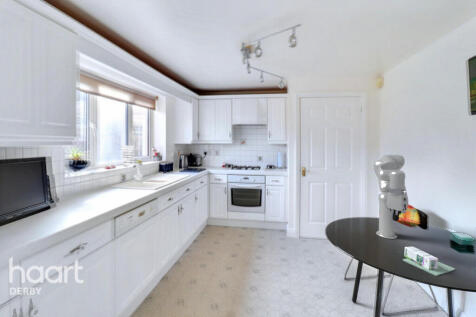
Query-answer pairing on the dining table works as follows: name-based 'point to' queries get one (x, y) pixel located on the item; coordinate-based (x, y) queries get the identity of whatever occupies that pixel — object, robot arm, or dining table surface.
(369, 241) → the dining table surface
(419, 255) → the syrup box
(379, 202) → the robot arm
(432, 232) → the dining table surface
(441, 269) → the mat
